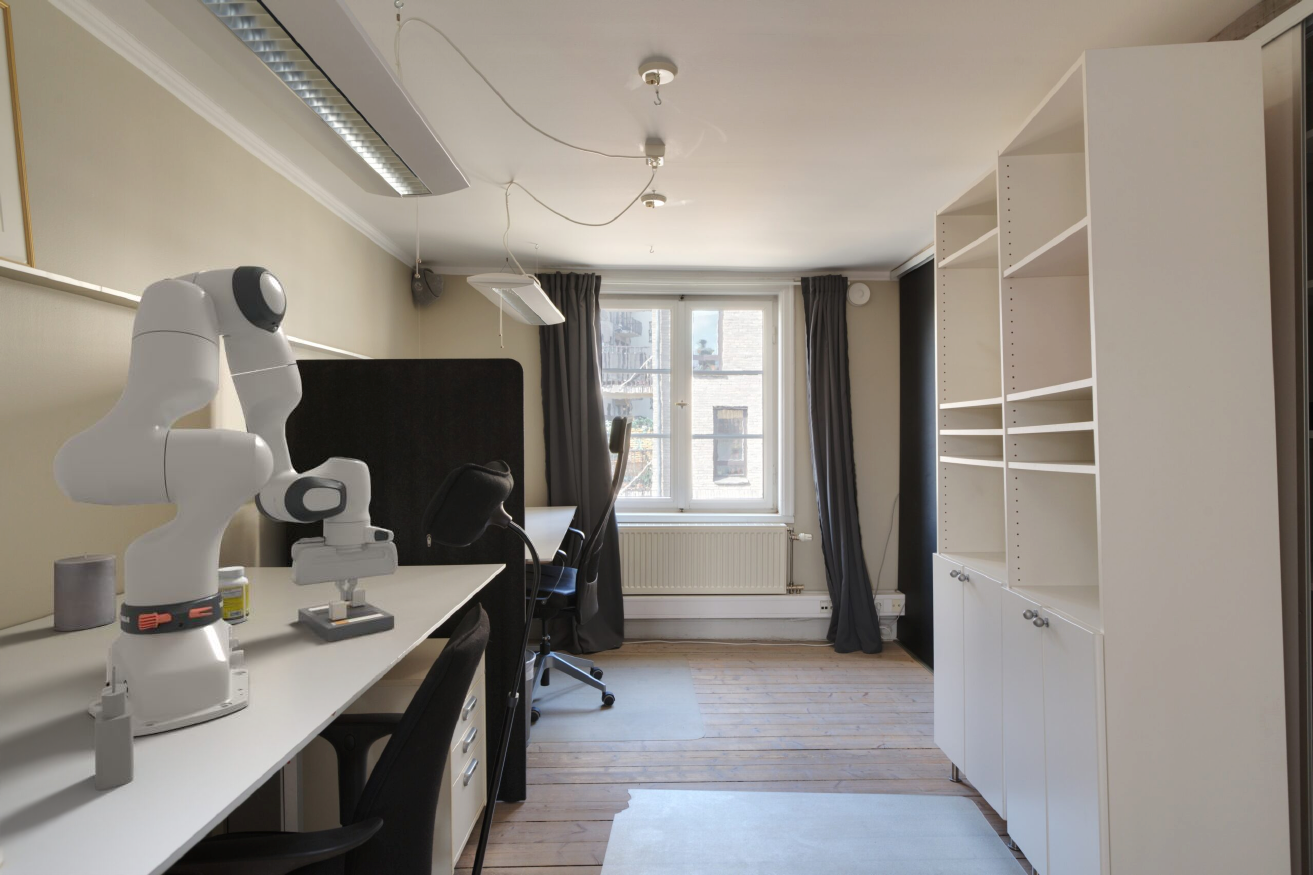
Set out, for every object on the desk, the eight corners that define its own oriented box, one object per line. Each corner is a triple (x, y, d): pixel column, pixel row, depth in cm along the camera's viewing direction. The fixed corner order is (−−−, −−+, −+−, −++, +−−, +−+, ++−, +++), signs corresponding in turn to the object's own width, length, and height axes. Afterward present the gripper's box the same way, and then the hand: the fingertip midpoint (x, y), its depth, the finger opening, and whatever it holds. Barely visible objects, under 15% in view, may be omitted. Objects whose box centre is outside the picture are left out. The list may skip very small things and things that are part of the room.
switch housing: (394, 627, 126) (394, 615, 126) (328, 641, 118) (328, 628, 118) (358, 609, 141) (358, 598, 141) (298, 620, 132) (298, 608, 132)
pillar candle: (65, 622, 135) (64, 550, 135) (123, 615, 139) (122, 546, 139) (44, 634, 126) (44, 558, 126) (107, 627, 130) (106, 553, 130)
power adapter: (133, 762, 74) (132, 658, 74) (133, 781, 69) (131, 671, 69) (97, 771, 72) (96, 664, 72) (95, 792, 67) (93, 678, 67)
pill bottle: (230, 617, 136) (229, 565, 136) (256, 617, 136) (255, 565, 136) (205, 625, 130) (205, 571, 130) (233, 626, 129) (232, 571, 129)
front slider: (346, 617, 125) (346, 602, 125) (333, 620, 123) (332, 604, 123) (342, 615, 126) (341, 600, 126) (328, 617, 125) (328, 602, 125)
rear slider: (365, 604, 135) (365, 590, 135) (353, 606, 133) (353, 592, 133) (360, 602, 137) (360, 588, 137) (349, 604, 135) (348, 590, 135)
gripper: (296, 540, 124) (294, 612, 124) (401, 532, 138) (400, 596, 138) (287, 537, 129) (286, 606, 129) (389, 529, 143) (389, 591, 143)
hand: (346, 601), depth 133 cm, fingers closed
